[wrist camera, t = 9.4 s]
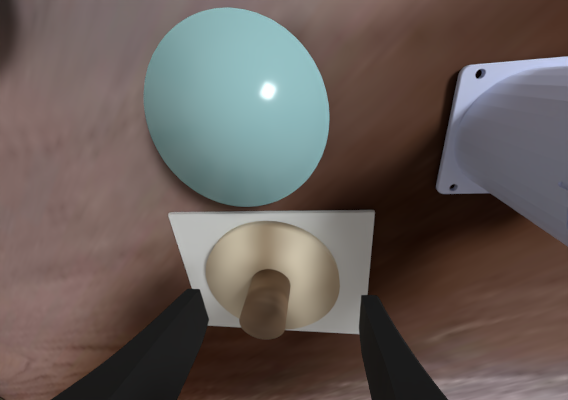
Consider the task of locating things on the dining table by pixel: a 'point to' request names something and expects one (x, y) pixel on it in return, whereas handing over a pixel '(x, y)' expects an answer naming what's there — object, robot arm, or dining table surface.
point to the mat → (322, 224)
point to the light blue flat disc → (236, 107)
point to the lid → (272, 277)
